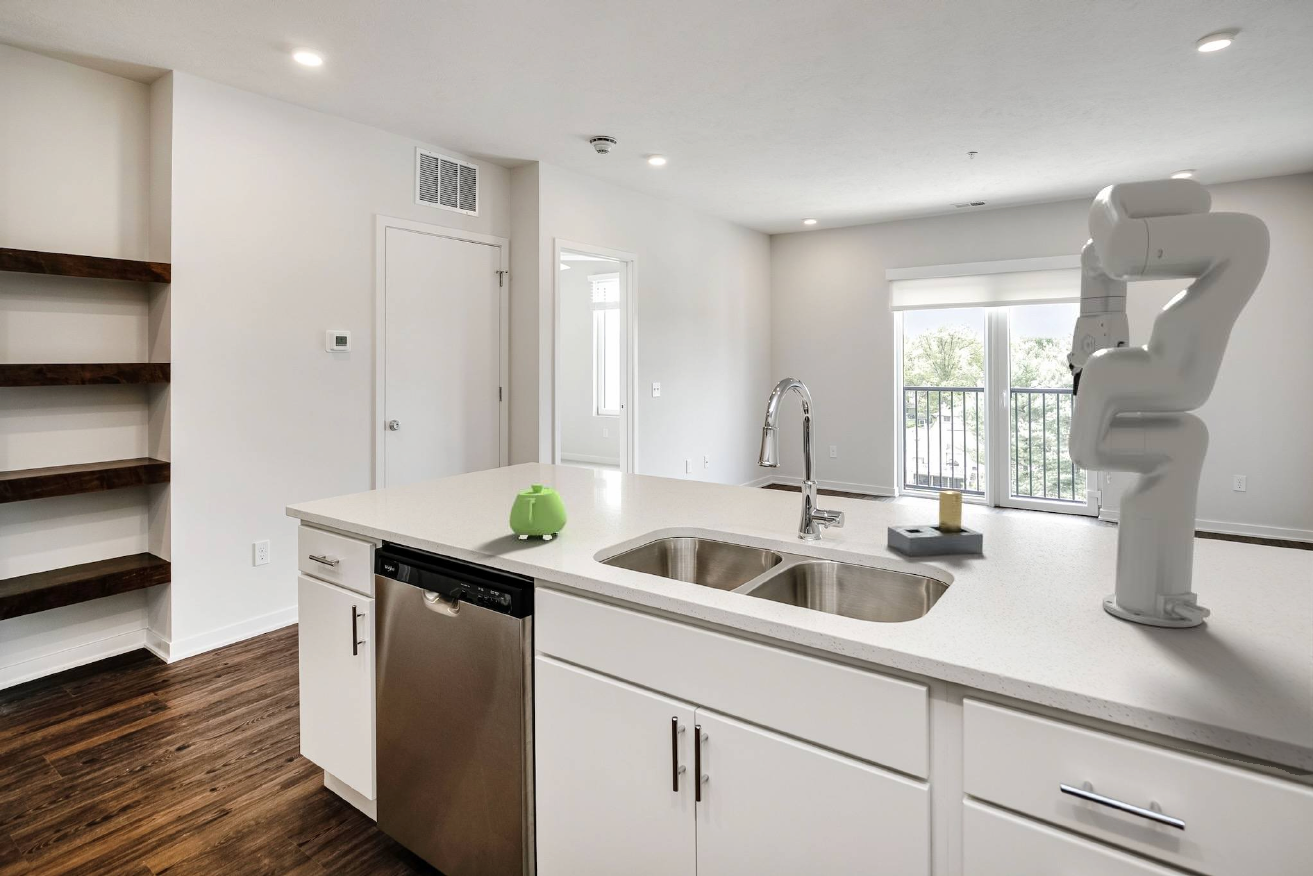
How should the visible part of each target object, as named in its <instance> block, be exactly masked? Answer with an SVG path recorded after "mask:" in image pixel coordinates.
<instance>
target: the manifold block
mask: <svg viewBox="0 0 1313 876" xmlns="http://www.w3.org/2000/svg"><path fill="white" fill-rule="evenodd" d="M983 541H984V534H983V533H981V532H978V531H976V530H974V529H971V528H969V527H966V526H963V525H962V524H961V533H941V532H939V523H938V524H919V525H918V524H917V525H895V526H887V546H889V547H891V548H893V549H895V550H896V551H898V552H900V553H902V554H904V555H905V556H906V557H908V558H911V557H928V556H930V557H931V556H949V555H952V556H953V555H969V554H970V555H971V554H972V555H973V554H983V550H984V549H983V547H984V544H983V543H984V542H983Z"/></svg>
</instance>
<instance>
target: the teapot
mask: <svg viewBox="0 0 1313 876" xmlns="http://www.w3.org/2000/svg"><path fill="white" fill-rule="evenodd" d="M566 510H567V509H566V508H565V505H564V502H563V500H562V498H561V496H560V494H559V492H558V491H557V490H556V489H555V488H551V487H544V484H542V483H534V484H531V488H529V489H528V488H527V489H523V490H521V491H519V492H518V493H517V495H516V497H515V499H514V502H513V504H512V506H511V510H510V515H509V526H510V528H511V530H512V531H513V533H514V534H515V535H519V536H520V535H529V536H542V535H551V534H552V535H554V534H553V533H556V532H561V531H562V530H563V529H564V527H565V525H566V524H567V522H568V517H567V511H566Z"/></svg>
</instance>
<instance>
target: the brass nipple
mask: <svg viewBox="0 0 1313 876" xmlns="http://www.w3.org/2000/svg"><path fill="white" fill-rule="evenodd" d="M938 495H939V498H938V499H939V501H938V502H939V504H938V505H939V506H938V524H939V532H941V533H961V525H962V518H963V517H962V515H963V514H962V512H963V511H962V509H963V504H962V503H963V493H962V492H960V491H954V490H941V491H939V494H938Z"/></svg>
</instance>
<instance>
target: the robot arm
mask: <svg viewBox="0 0 1313 876" xmlns="http://www.w3.org/2000/svg"><path fill="white" fill-rule="evenodd" d="M1211 208H1212V195H1211V192H1210V190H1209V189H1208V188H1207V186H1205V185H1204V184H1203V183H1201V182H1199V181H1197V180H1195V179H1190V178H1180V177H1179V178H1178V177H1176V178H1164V179H1162V178H1161V179H1154V180H1146V181H1145V180H1143V181H1133V182H1121V183H1115V184H1111V185H1110V186H1107V187H1106V188H1104V189H1102V190H1101V191H1100V192H1099V193H1098V195H1097V196H1096V197H1095V198H1094V200H1093V202H1092V205H1091V206H1090V210H1089V214H1088V233H1089V236H1090V239H1089V240H1088V241H1087V243H1086V244H1085V245H1084V246H1083V247H1082V249H1081V253H1080V267H1081V277H1080V295H1079V297H1080V303H1079V316H1077V318H1076V322H1075V325H1074V330H1073V336H1072V337H1073V338H1072V342H1071V343H1072V346H1071V352H1069V353H1067V355H1066V358H1067V359H1066V360H1067V362H1068V369H1069V370H1070V371H1071V373H1070V374H1071V376H1072V377H1073V381H1072V382H1073V383H1072V396H1074V397H1076V398H1075V403H1074V408H1073V413H1072V417H1071V418H1072V419H1071V422H1070V428H1069V433H1068V447H1067V448H1068V454H1069V458H1070V461H1071V462H1072V463H1073V465H1074V466H1076V467H1078V468H1079V469H1081V470H1085V471H1090V472H1091V471H1092V472H1107V473H1108V472H1109V473H1110V472H1112V473H1113V472H1114V473H1115V472H1117V473H1134V474H1135V473H1137V474H1138V475H1136V476H1135V478H1134V479H1133V480H1132V481H1131V482H1130V483H1129V484H1128V485H1127V486H1126V488H1125V489H1124V490H1123V492H1122V494H1121V496H1120V499H1119V503H1118V521H1117V538H1116V539H1117V541H1116V560H1115V562H1116V563H1115V584H1114V593H1112V594H1109V595H1106V596H1104V597H1103V598H1102V608H1103V609H1104V610H1106V611H1107V612H1108V613H1110V614H1111V615H1113V616H1116V617H1119V618H1121V619H1124V620H1127V621H1131V622H1133V623H1134V622H1135V623H1139V624H1144V625H1149V626H1156V627H1163V628H1191V627H1197V626H1199V625H1201V624H1202V623H1203V621H1204V618H1205V619H1207V618H1209V617H1210V616H1211V610H1210V609H1209V608H1207V607H1204V606H1202V605H1198V604H1197V602H1198V601H1197V598H1198V593H1195V592H1192V583H1193V582H1192V581H1193V566H1194V550H1195V549H1194V548H1195V547H1194V545H1195V529H1196V518H1197V517H1196V516H1197V504H1198V503H1197V502H1198V492H1199V485H1200V481H1201V473H1202V470H1203V467H1204V462H1205V460H1206V456H1207V454H1208V453H1207V452H1208V447H1209V444H1210V443H1209V440H1210V436H1209V434H1210V433H1209V430H1208V427H1207V425H1206V424H1205V422H1204V421H1203V420H1202V419H1201V418H1200V417H1199V416H1197V415H1195V414H1193V413H1190V412H1189V411H1195V410H1197V409H1199V408H1201V407H1203V406H1204V405H1205V404H1206V403H1207V401H1208V400H1209V398H1210V396H1211V395H1212V392H1213V389H1214V386H1215V384H1216V381H1217V377H1218V376H1219V375H1218V374H1219V371H1220V369H1221V366H1222V361H1223V359H1224V356H1225V353H1226V349H1227V346H1228V343H1229V339H1230V337H1231V333H1232V330H1233V327H1234V326H1235V323H1236V322H1237V320H1238V318H1239V317H1240V315H1241V313H1242V311H1243V310H1244V309H1245V308H1246V306H1247V304H1248V303H1249V301H1250V300H1251V298H1252V296H1253V295H1254V294H1255V292H1256V290H1257V288H1258V286H1259V285H1260V284H1261V281H1262V278H1263V277H1264V274H1265V271H1266V270H1267V266H1268V263H1269V262H1268V261H1269V258H1270V250H1271V249H1270V248H1271V236H1270V231H1269V227H1268V226H1267V224H1266V223H1265V221H1263V220H1262V219H1261V218H1260V217H1258V216H1256V215H1253V214H1250V213H1246V212H1245V213H1244V212H1236V211H1214V212H1213V211H1211ZM1210 211H1211V212H1210ZM1183 279H1186V280H1188V279H1195V280H1194V282H1193V283H1191V284H1190V285H1189V286H1188V287H1186V288H1185V289H1183V290H1181V291H1180V292H1179V293H1178V294H1176V295H1175V296H1174V297H1173V298H1172V299H1171V300H1170V301H1169V302H1168V303H1166V304H1165V306H1164V307H1162V308H1161V310H1159V312H1158V313H1157V315H1156V316H1155V317H1156V318H1155V319H1154V323H1153V327H1152V331H1151V335H1150V339H1149V341H1148V342H1147V344H1144V345H1142V346H1130V329H1129V318H1128V315H1127V299H1128V298H1127V294H1128V292H1127V291H1128V283H1132V282H1133V283H1135V282H1149V281H1150V282H1151V281H1152V282H1153V281H1166V280H1167V281H1171V280H1183Z"/></svg>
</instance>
